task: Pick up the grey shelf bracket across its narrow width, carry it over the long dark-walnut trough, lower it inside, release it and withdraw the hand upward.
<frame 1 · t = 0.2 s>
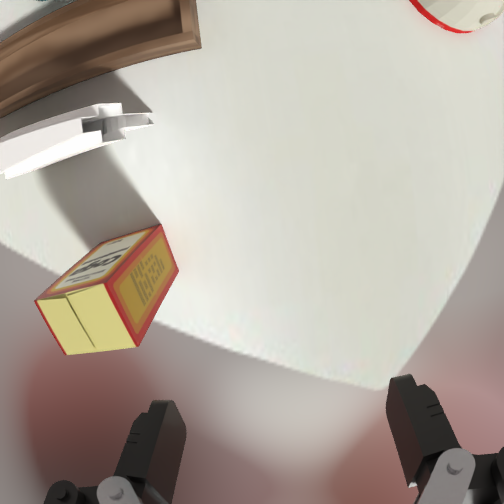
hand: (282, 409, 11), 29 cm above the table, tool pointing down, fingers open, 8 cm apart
trough: (69, 51, 30), on the table
baking soda box: (138, 256, 41), on the table
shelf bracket: (63, 141, 35), on the table
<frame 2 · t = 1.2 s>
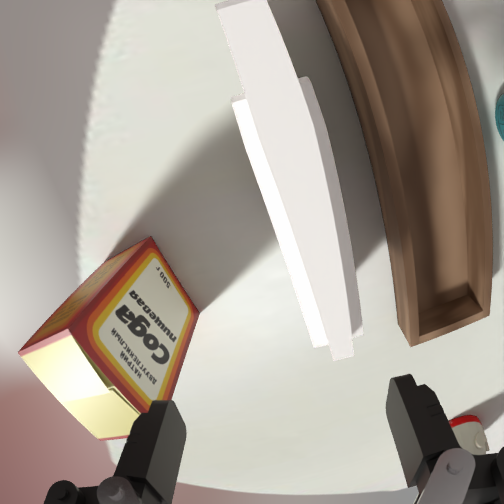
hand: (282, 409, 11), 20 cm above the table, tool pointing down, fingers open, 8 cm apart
trough: (419, 157, 26), on the table
kitchen timer: (446, 439, 43), on the table
baking soda box: (151, 287, 33), on the table
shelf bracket: (290, 165, 28), on the table
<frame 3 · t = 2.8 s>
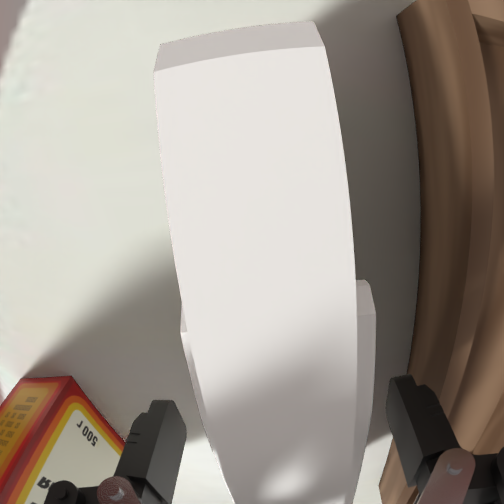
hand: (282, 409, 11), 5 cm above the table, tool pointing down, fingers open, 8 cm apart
trough: (479, 335, 16), on the table
baking soda box: (78, 419, 21), on the table
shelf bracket: (286, 350, 17), on the table
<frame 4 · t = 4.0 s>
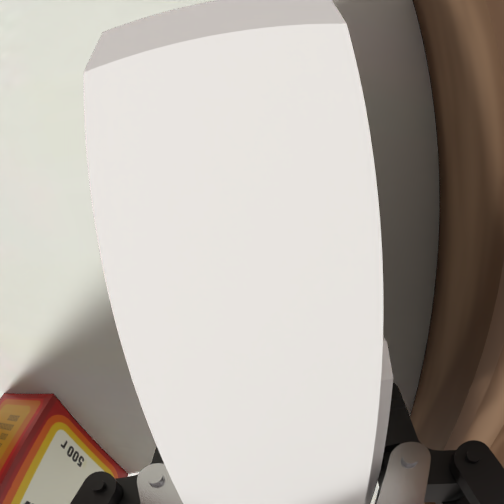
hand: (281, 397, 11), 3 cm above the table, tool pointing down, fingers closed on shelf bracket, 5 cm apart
trough: (494, 352, 14), on the table
baking soda box: (64, 435, 19), on the table
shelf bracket: (283, 383, 15), on the table, touching gripper
when the fingers open (5 cm above the table, at t = 9.9 s): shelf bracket drops 2 cm, resting on trough.
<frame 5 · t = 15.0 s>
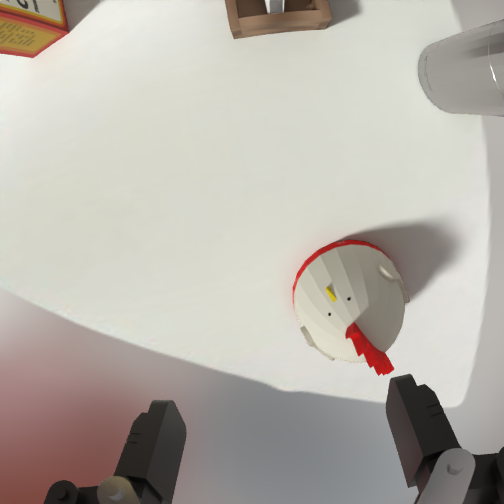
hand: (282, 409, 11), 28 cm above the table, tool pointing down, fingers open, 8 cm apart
kitchen timer: (345, 289, 41), on the table
baking soda box: (46, 19, 28), on the table
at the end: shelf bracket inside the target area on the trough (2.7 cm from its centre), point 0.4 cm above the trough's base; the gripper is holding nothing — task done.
